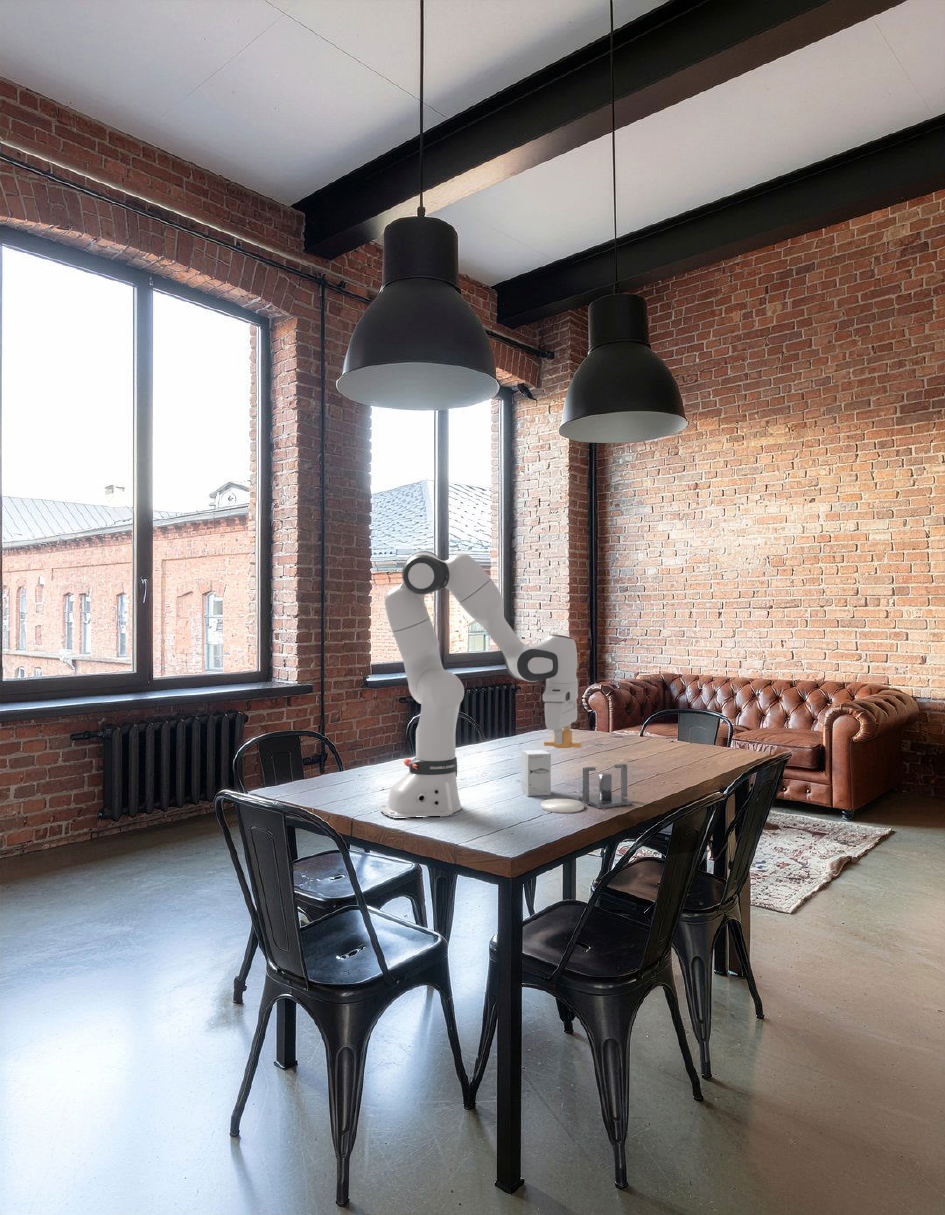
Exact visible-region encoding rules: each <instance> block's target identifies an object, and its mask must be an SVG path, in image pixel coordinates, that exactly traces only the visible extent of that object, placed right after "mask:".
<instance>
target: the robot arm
mask: <svg viewBox="0 0 945 1215" xmlns="http://www.w3.org/2000/svg"><path fill="white" fill-rule="evenodd" d="M401 578H402V582H401V583H400V584H399V585H397V586H394V587H393V588H391V589H390V590H389V591H388V592H387V593H386V594H385V597H384V606H385V611H386V615H387V620H388V623H389V627H390V629H391V632H392V634H393V637H394V639H395V642H396V645H397V647H398V651H399V653H400V656H401V658H402V662H403V666H404V672H405V676H406V680H407V683H408V690H409V694H410V696H411V697H412V698H413V699H414V700H415V701H416V703H418V704H420V705H421V706H420V713H419V714H420V715H419V720H418V724H417V727H416V729H415V757H414V758H413V759H412V760H411V759H409V758H405V759H404V760H403V765H404V766H406V767H409V768H408V769H409V771H408V772H407V773H406V774H405V775H404V776H403V777H402V778H401V779H399V781H397V782H395V783H394V784H393V785H392V786H391V788H390V790H389V794H388V800H387V803H383V804H381V805H380V807H379V809H380V808H381V810H382V811H383V812H384V813H385V814H387V815H391V816H395V817H416V816H440V817H450V816H452V815H453V814H454V813H456V812H459V811H460V810H461V809H462V805H461V801H460V796H459V791H458V785H457V784H458V783H457V777H458V759H457V756H456V732H457V722H458V718H459V713H460V712H459V711H460V706H461V703H462V701H463V700H464V696H465V687H464V684H463V682H462V681H461V680H460V678H459V677H458V676H457V675H456V674H455V673H453V672H452V671H448V670H446V669H444V667H443V663H442V658H441V654H440V640H439V638H438V636H437V633H436V631H435V628H434V625H433V623H432V619H431V618H430V614H429V612H428V610H427V606H426V603H425V597H426V595H428V594H432V593H434V592H437V591H440V590H443V589H447V591H449V592H450V593H451V594H452V595H453V596H454V598H455V600H457V602H458V603H459V605H460V606H461V607H462V608H463V609H464V610H465V611H466V613H468V615H469V616H470V617H471V618H472V619H474V620H475V621H476V622H477V623H478V624H479V625H480V626H481V627H482V629H485V631H486V632H487V634H488V635H489V636H490V638H491V639H492V640H493V642H494V643H495V645H496V646H497V647H498V649H499V651H501V654H502V657H503V660H504V664H505V668H506V670H507V672H508V674H509V675H510V676H511V677H513V678H514V679H516V680H520V681H525V682H528V683H529V682H530V683H534V682H539V681H544V680H545V690H544V692H543V693H542V701H543V702H544V719H545V727H546V729H547V730H549V731H554V735H555V740H556V744H562V743H563V737H562V729H565V730H572V729H571V728H572V723H575V722H577V720H578V703H577V699H579V688H578V687H579V686H578V685H579V683H578V682H579V681H578V677H577V670H578V666H579V665H578V651H577V644H576V642H575V640H574V639H573V638H572V637H571V636H566V635H562V634H561V635H560V634H555V633H553V634H552V633H551V634H549V635H548V636H546V638H543V640H541V641H539V642H538V643H535V644H533V645H530V646H529V645H528V644H526V643H524V642H522V640H521V639H520V638H519V637H518V636H517V634H516V633H515V631H514V630H513V628H512V627H511V626H510V624H509V623H508V622H507V620H506V618H505V616H504V612H503V605H504V598H503V595H502V593H501V592H500V590H499V588H498V586H497V585H496V584H495V582H494V581H493V579H492V578H491V576H490V575H489V574H488V572H487V571H485V569H484V568H483V567H482V566H481V565H480V564H479V563H478V562H477V561H476V560H475V559H474V558H473V557H472V556H470V555H469V554H467V553H458V554H455V555H453V556H451V557H450V558H448V559H446V560H441V558H440V557H439V556H438V555H436V554H435V553H434V552H431V551H427V550H421V551H418V552H415V553H413V554H412V555H409V557H408V558H407V559H406V561H405V562H404V565H403V568H402V571H401ZM449 815H450V816H449Z"/></svg>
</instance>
